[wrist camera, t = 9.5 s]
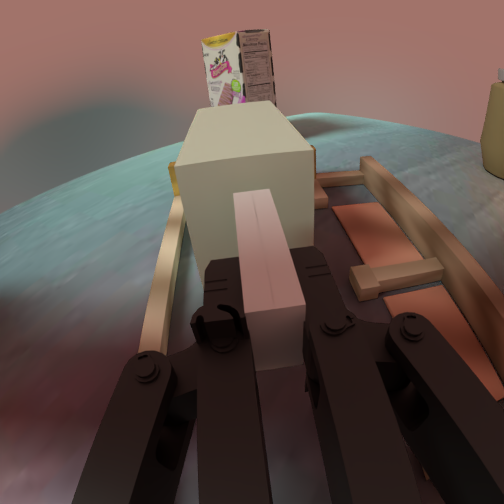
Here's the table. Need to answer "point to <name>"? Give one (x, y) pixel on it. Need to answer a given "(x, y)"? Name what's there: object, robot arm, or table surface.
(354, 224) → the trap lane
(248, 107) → the brick
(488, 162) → the squeeze bottle
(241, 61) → the candy bar box
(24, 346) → the table surface
